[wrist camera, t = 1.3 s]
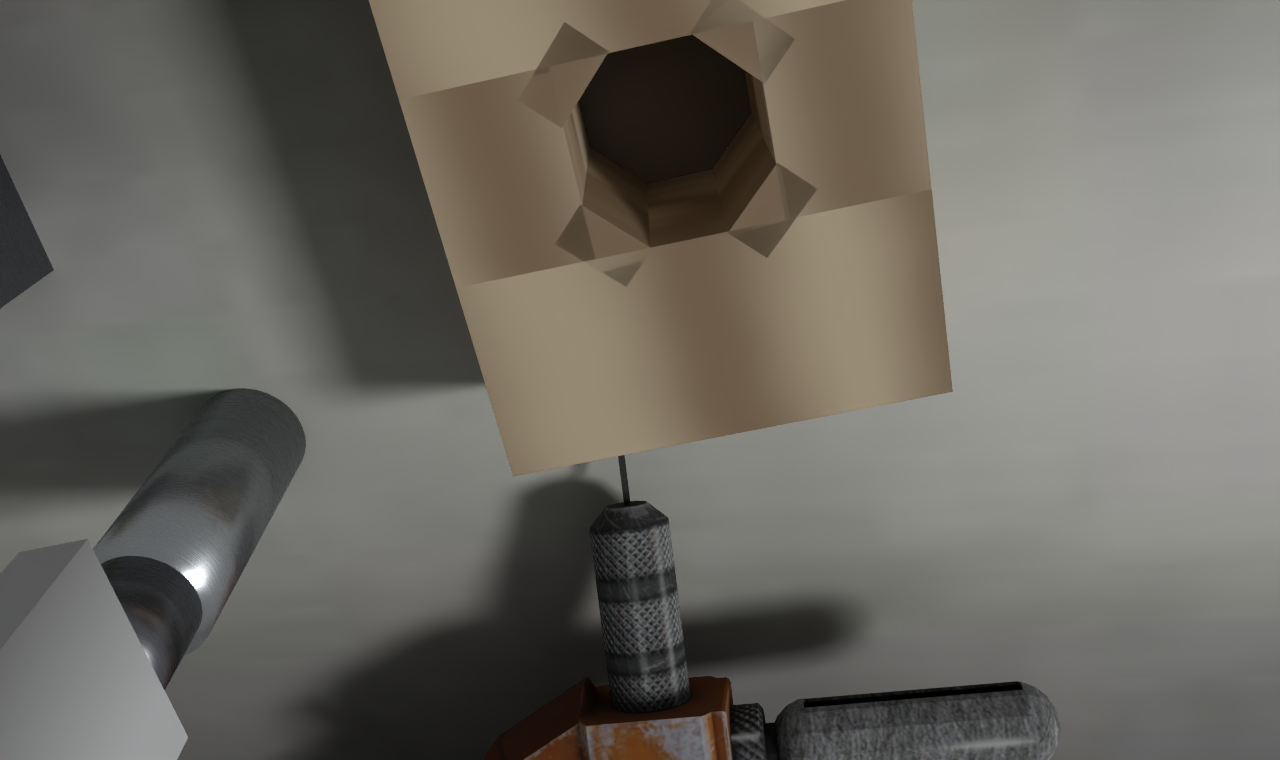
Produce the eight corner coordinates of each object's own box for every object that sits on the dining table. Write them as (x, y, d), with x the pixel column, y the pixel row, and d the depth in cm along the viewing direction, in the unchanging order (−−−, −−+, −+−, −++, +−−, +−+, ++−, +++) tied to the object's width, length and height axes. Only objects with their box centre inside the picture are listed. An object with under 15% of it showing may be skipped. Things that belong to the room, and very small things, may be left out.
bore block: (530, 382, 36) (513, 476, 30) (377, -158, 29) (320, -160, 24) (901, 307, 35) (952, 391, 29) (831, -268, 28) (880, -297, 23)
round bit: (218, 494, 37) (52, 754, 27) (177, 400, 36) (-17, 636, 25) (320, 474, 37) (194, 729, 26) (283, 379, 36) (133, 607, 25)
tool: (180, 1221, 37) (1129, 1195, 33) (68, 406, 36) (1022, 284, 32) (239, 1133, 41) (1090, 1101, 37) (139, 399, 40) (995, 290, 36)
